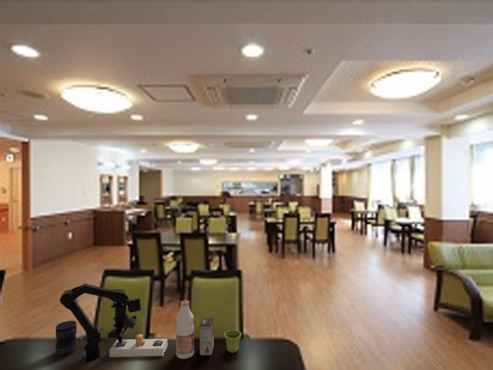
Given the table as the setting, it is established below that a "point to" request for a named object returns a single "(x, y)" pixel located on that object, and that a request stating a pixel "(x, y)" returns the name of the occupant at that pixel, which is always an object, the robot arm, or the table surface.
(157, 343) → the knob
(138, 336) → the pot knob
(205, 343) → the coffee box
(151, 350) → the console
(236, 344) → the plant pot
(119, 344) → the knob
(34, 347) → the table surface
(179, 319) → the fruit juice
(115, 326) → the robot arm
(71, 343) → the storage jar
